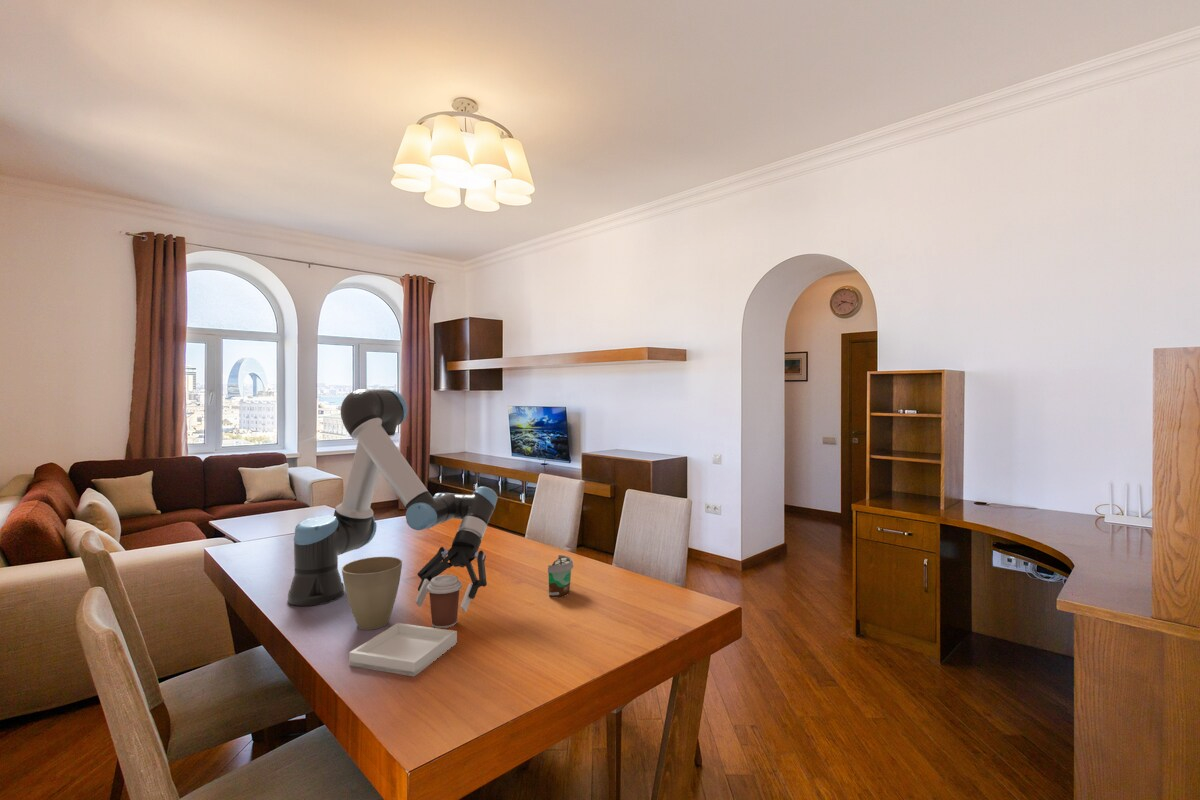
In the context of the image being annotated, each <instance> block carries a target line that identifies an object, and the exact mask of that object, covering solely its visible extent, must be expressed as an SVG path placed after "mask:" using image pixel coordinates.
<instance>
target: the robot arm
mask: <svg viewBox="0 0 1200 800" xmlns="http://www.w3.org/2000/svg"><path fill="white" fill-rule="evenodd" d="M408 410H409V409H408V403H407V402H406V400H405V398H404V396H403V395H402V394H401V393H400V392H397V391H395V390H391V389H387V388H383V389H374V388H373V389H367V388H362V389H361V388H360V389H355V390H353V391H351V392H349V393H348V394H347V395H346V396H345V398H344V399H343V400H342V403H341V406H340V419H341V421H342V424H343V426H344V428H345V430H346V431H347V433H348V434H349V436H350V437H351V439H352V440H357V444H356V449H355V451H354V456H353V460H352V464H351V468H350V471H349V475H348V480H347V484H346V487H345V491H344V494H343V498H342V502H341V503H339V504H338V505H335V509H334V512H333V515H328V514H327V515H317V516H312V517H309V518H307V519H304V520H302V521H300V522H299V523H298V524H297V525H296V526H295V528H294V536H293V544H294V545H293V549H294V552H293V553H294V557H293V558H294V562H293V563H294V574H293V575H294V576H293V578H292V580H291V581H292V582H291V585H290V588H289V590H288V592H287V603H288V604H289V605H293V606H297V607H305V606H307V607H310V606H318V605H323V604H327V603H330V602H333V601H336V600H338V599H340V598H342V597H343V595H344V594H345V586H344V582H343V581H342V578H341V575H340V572H339V567H338V563H339V562H338V559H339V557H338V556H340V555H344V554H346V553H348V552H351V551H355V550H358V549H361V548H362V547H364V546H366V545H368V544H369V543H370V542H371V541H372V540H373V538H374V537H375V535H376V533H377V522H376V518H375V517H374V514H375V513H374V511H373V509H372V508H371V506H372V502H373V498H374V494H375V490H376V486H377V483H378V479H379V475H380V473H381V475H382V476H383V478H384V479H385V480H386V482H387V483H388V484H389V487H390V488H391V489H392V490H393V491H394V493H395V494H396V496H397V497H398V499H399V500H400V502H401V503H402V504H403V506H404V507H405V509H406V511H405V519H406V524H407V526H408V527H410V528H411V529H412V530H415V531H422V530H423V531H424V530H427V529H428V530H429V529H430V528H433V527H434V526H437V525H440V524H443V523H446V522H447V521H450V520H454V519H455V520H461V521H460V524H459V526H458V528H457V531H456V533H455V536H454V538H453V540H452V544H451V547H450V548H449V549H446V548H444V546H441V547H439V549H438V551H437V553H436V554H435V555H433V557H432V558H431V559H430V560H429V561H428V562H427V563H426V564H425V565H424V566H423V567H422V568H421V569H420V570H419V571H418V573H417V576H418V577H419V578H420V580H421V581H420V583H419V585H418V588H417V591H418V593H417V594H416V597H415V599H414V602H415V604H416V605H417V606H418V607H422V606H423V603H424V601H425V599H426V597H427V594H428V593H429V592H428V591H427V586H428V584H430V582H431V579H432V578H434V577H436V576H440V575H441V574H442V573H443V572H445V571H446V570H447V569H450V568H452V567H454V568H457V567H460V568H465V567H466V570H467V573H468V575H469V578H470V580H471V583H468V585H467V587H466V591H465V594H464V596H463V597H462V601H461V604H460V606H459V608H460V609H461V611H463V613H467V611H468V609H469V606H470V603H471V601H472V600H474V599H475V598H476V595H477V592H478V590H479V588H481V587H486V586H487V574H486V565H485V561H486V557H487V556H486V554H485V551H483V550H479V549H480V546H481V543H482V540H483V538H484V536H485V533H486V531H487V528H488V525H489V523H490V519H491V518H492V515H493V513H494V511H495V509H496V505H497V502H498V498H499V497H498V494H497V493H496V492H495V490H494V489H492V488H490V487H487V486H484V485H483V486H479V487H476V488H475V490H474V491H473V493H467V494H466V493H451V492H445V491H444V492H437V493H435V494H434V495H432V494H431V493H430V491H429V490H428V489H427V487H426V486H425V484H424V483H423V482H422V480H421V479H420V478H419V476H418V475H417V473H416V472H415V471H414V469H413V467H411V465H410V464H409V462H408V461H407V459H406V458H405V456H404V455H403V454H402V452H401V451H400V449H399V448H398V447H397V445H396V444H395V443H394V441H393V440H392V437H394V436H395V434H396V430H397V427H398V426H399V425H401V424H402V423H403V422H404V421H405V420H406V419H407V416H408V413H409V412H408ZM478 551H479V552H478ZM475 559H476V562H477V571H478V577H477V575H476V572H475V569H474V566H473V564H472V562H473V561H474V560H475Z"/></svg>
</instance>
